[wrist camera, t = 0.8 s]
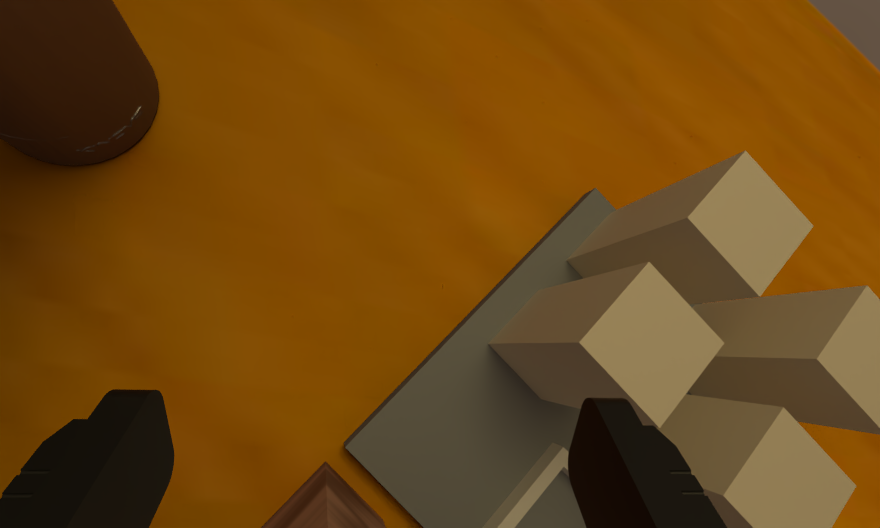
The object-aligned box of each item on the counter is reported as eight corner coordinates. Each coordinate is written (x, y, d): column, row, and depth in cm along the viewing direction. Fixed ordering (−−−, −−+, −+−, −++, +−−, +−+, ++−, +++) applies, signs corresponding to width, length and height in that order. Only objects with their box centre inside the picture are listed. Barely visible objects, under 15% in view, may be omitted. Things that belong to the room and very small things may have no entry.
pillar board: (343, 442, 31) (359, 511, 18) (585, 193, 38) (723, 113, 25) (554, 657, 32) (712, 869, 19) (755, 378, 39) (975, 394, 26)
